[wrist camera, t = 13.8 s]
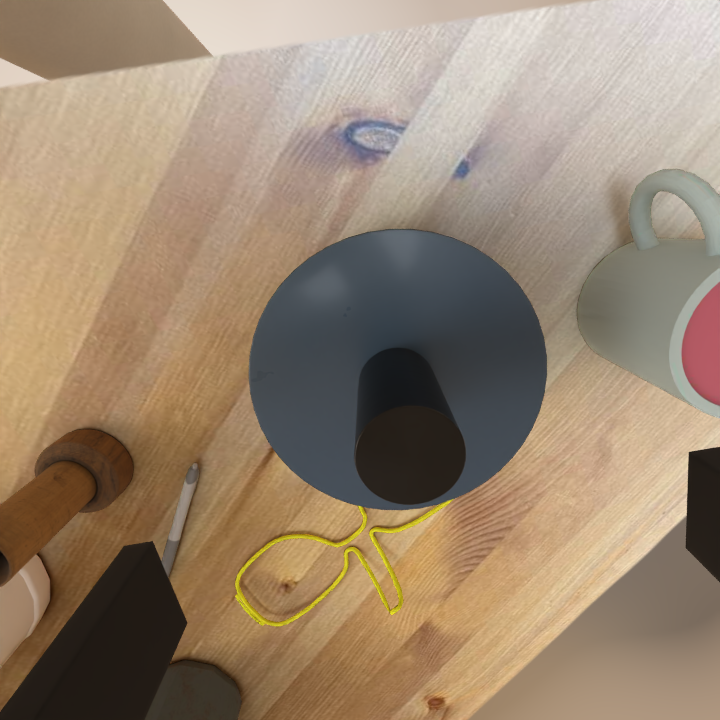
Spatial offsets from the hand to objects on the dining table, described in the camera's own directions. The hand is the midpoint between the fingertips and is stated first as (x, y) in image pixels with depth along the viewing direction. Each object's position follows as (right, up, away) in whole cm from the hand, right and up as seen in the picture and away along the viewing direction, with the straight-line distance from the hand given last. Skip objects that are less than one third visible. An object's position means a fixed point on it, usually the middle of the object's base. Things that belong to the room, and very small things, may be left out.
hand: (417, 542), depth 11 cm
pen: (-17, -10, +27) cm, 33 cm away
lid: (0, +3, +12) cm, 13 cm away
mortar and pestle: (-24, -4, +25) cm, 35 cm away
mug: (+18, +11, +20) cm, 29 cm away
